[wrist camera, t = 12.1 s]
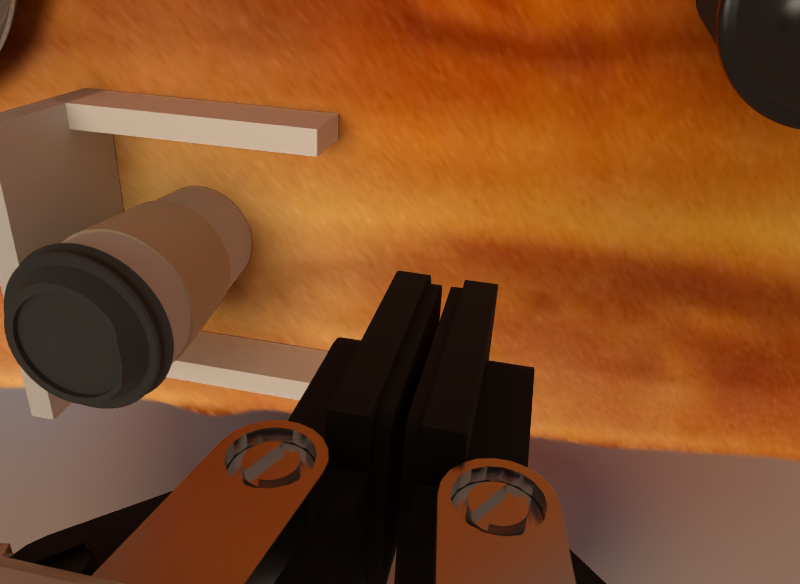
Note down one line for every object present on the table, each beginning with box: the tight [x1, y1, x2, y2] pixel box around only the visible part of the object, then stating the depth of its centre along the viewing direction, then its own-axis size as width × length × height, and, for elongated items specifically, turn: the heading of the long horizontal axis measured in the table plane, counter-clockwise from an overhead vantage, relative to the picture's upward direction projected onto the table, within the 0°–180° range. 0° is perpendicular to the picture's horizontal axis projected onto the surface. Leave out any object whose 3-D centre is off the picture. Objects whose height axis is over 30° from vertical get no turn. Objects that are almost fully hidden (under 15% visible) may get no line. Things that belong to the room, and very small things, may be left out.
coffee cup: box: [4, 186, 252, 408], centre depth 39 cm, size 9×9×15 cm
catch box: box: [0, 88, 338, 419], centre depth 41 cm, size 16×18×10 cm
